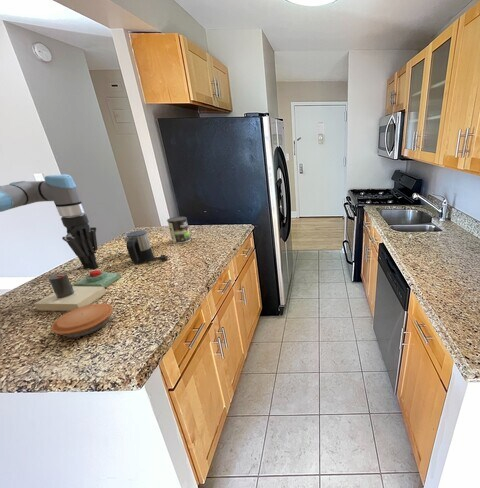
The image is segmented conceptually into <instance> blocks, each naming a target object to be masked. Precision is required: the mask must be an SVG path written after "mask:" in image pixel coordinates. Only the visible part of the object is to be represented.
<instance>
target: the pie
mask: <svg viewBox="0 0 480 488" xmlns="http://www.w3.org/2000/svg"><path fill="white" fill-rule="evenodd" d="M113 311H114V307H113V306H112V304H109V303H91V304H89V305H86V306H83V307H79V308H77V309H74V310H72V311H67V312H66V313H65V314H63V315H61V316H60V317H59V318H57V319H56V320H55V321H54V322H53V323H52V325H51V327H50V330H51V332H53V333H54V334H57V335H61V336H64V337H66V338H80V337H84V336H87V335H91V334H92V333H94V332H97V331H98V330H100V329H101V328H103V327H104V326H105V325H106V324H107V323H108V321H109V319H110V317H111V315H112V314H113Z"/></svg>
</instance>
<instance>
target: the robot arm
mask: <svg viewBox="0 0 480 488" xmlns="http://www.w3.org/2000/svg"><path fill="white" fill-rule="evenodd" d="M41 202H53V203H54V205H55V208H56V210H57V212H58V216H59V217H61V218H60V220H61V223H62V225H63V227H64V228H66V233H67V234H66V235H65V236H62V238H61V239H62V240H63V241H64V242H66V243H67V245H68V246H69V247H70V249H71V250H72V251H73V253H74V255H75V256H76V257H78V256H82V257H83V258H84V261H85V263H87V265H88V268H89V269H88V270H98V268H99V266H98V263H97V257H96V255H95V254H97V251H98V241H97V227H93V226H90V224H89V222H90V221H89V218H88V216H87V214H86V210H85V208H84V205H83V203H82V200H81V196H80V194H79V191H78V188H77V184H76V183H75V181H74V179H73V177H72V175H70V174H50V175H46V176H44V180H35V181H33V180H31V181H30V180H29V181H26V180H22V181H21V180H20V181H13V182H10V183H8V184H5V185H0V213H1V212H5V211H9V210H11V209H16V208H19V207H23V206H27V205H31V204H34V203H41Z"/></svg>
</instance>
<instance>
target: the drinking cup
mask: <svg viewBox="0 0 480 488" xmlns="http://www.w3.org/2000/svg"><path fill="white" fill-rule="evenodd" d="M77 258H78V260H79V262H80V263H81V265H82V267H83V269H85V270H90V269H89V268H88V265H87V263H85V261H84V258H83V257H82V256H77Z"/></svg>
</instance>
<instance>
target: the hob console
mask: <svg viewBox="0 0 480 488" xmlns="http://www.w3.org/2000/svg"><path fill="white" fill-rule="evenodd" d="M72 287H73V290H74V293H73V294H72V295H70V296H67V297H64V298H57V297H56V295H55V292H54V291H53V293H50V294H49V295H47V296H45V297H43V298H41V299H39V300H37V301H36V302H34V303H33V304H34V306H35V309H36V311H53V312H54V311H55V312H60V311H61V312H70V311H72V310H74V309H77V308H79V307H83V306H86V305H91V304H93V303H94V302H95V301H97V300H99V299H100V298H101V297H103V296H104V295H106V294H107V290H106V287H105V288H104V287H87V286H74V285H72Z"/></svg>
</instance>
